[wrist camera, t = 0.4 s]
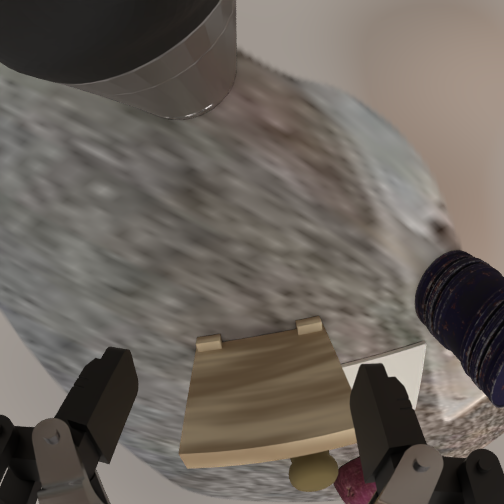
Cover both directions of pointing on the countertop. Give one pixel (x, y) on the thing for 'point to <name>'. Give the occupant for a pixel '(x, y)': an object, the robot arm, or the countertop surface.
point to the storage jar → (467, 316)
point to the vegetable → (353, 484)
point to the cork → (313, 471)
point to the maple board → (266, 399)
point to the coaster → (396, 367)
